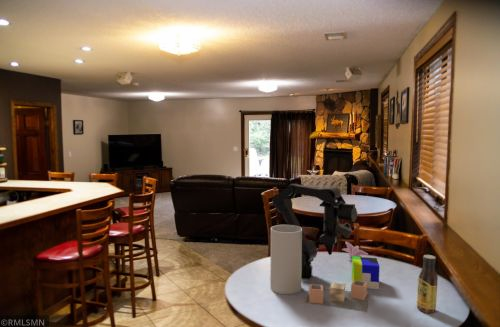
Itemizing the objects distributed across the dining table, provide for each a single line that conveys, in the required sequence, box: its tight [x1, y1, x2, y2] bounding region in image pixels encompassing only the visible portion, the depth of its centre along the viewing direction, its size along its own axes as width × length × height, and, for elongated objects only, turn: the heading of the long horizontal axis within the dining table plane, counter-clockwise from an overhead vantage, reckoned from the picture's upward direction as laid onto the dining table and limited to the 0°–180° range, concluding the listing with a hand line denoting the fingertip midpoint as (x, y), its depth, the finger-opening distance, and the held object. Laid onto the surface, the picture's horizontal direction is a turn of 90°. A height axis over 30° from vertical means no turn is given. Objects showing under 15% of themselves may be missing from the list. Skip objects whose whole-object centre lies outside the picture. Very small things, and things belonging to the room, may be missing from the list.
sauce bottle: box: [416, 254, 439, 314], centre depth 135 cm, size 6×6×20 cm
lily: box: [341, 241, 369, 264], centre depth 187 cm, size 12×12×10 cm
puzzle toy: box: [351, 256, 380, 290], centre depth 159 cm, size 10×10×10 cm
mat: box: [304, 287, 370, 313], centre depth 145 cm, size 22×16×1 cm
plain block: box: [329, 282, 346, 302], centre depth 144 cm, size 5×5×5 cm
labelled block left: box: [308, 283, 324, 304], centre depth 143 cm, size 5×5×5 cm
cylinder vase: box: [269, 224, 303, 295], centre depth 153 cm, size 12×12×25 cm
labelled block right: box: [350, 280, 368, 300], centre depth 146 cm, size 5×5×5 cm
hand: (330, 254), depth 159 cm, fingers closed
